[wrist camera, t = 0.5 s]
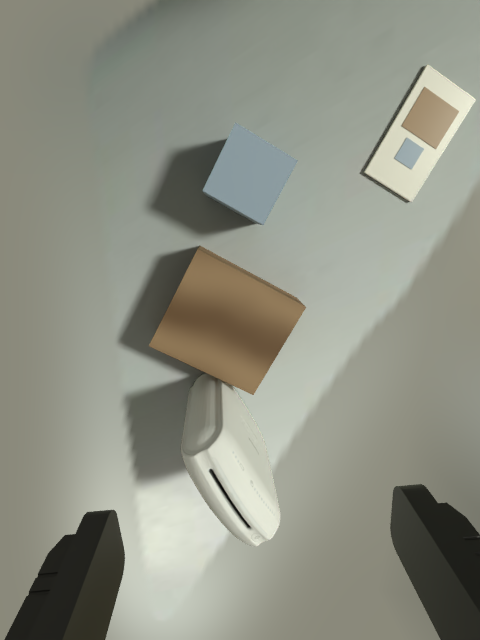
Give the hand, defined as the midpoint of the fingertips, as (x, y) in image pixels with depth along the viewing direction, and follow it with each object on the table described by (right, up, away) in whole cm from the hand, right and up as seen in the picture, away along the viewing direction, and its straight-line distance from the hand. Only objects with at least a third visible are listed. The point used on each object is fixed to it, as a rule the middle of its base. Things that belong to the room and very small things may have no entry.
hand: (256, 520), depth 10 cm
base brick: (-2, +6, +23) cm, 24 cm away
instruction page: (+14, +21, +20) cm, 32 cm away
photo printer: (-2, -4, +26) cm, 26 cm away
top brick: (0, +17, +20) cm, 26 cm away
